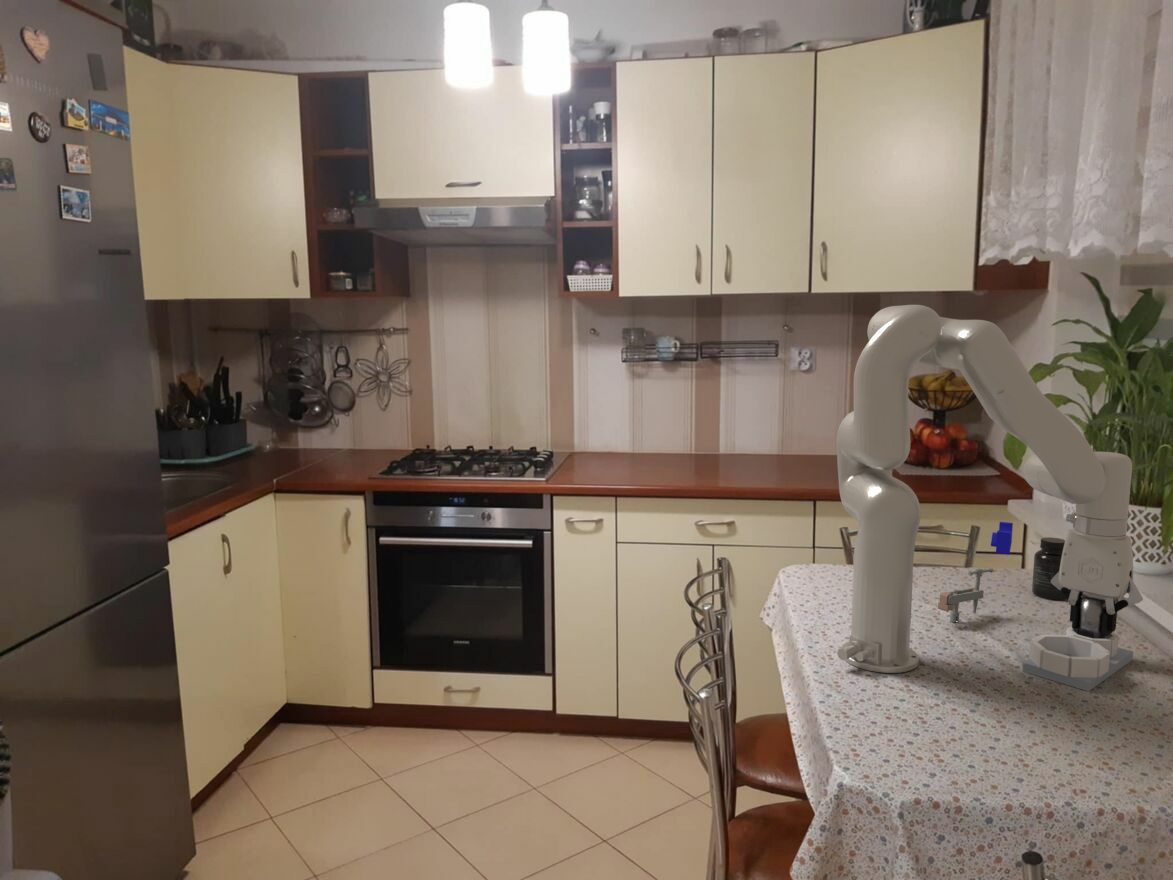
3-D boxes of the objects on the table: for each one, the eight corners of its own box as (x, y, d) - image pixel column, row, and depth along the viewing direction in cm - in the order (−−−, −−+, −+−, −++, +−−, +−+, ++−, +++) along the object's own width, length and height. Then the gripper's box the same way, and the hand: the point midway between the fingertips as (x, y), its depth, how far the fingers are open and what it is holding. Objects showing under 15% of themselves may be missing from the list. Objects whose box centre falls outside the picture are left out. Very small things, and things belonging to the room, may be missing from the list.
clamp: (946, 626, 157) (951, 575, 156) (935, 623, 159) (941, 572, 158) (991, 617, 166) (997, 567, 165) (981, 614, 168) (986, 565, 167)
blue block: (992, 543, 218) (993, 521, 217) (1011, 545, 216) (1012, 522, 215) (989, 554, 208) (990, 531, 207) (1009, 557, 205) (1010, 533, 205)
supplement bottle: (1049, 589, 180) (1053, 534, 179) (1076, 598, 174) (1080, 542, 172) (1024, 592, 178) (1027, 537, 177) (1051, 602, 172) (1055, 545, 170)
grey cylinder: (1099, 648, 140) (1103, 602, 139) (1073, 641, 144) (1077, 597, 142) (1108, 642, 143) (1112, 597, 142) (1082, 636, 146) (1086, 592, 145)
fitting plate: (1090, 692, 130) (1092, 665, 130) (1019, 671, 138) (1021, 645, 138) (1134, 660, 142) (1136, 634, 142) (1067, 642, 151) (1069, 618, 150)
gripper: (1038, 520, 144) (1031, 622, 147) (1149, 539, 132) (1139, 650, 134) (1056, 514, 149) (1049, 612, 152) (1165, 531, 136) (1155, 639, 139)
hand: (1091, 629), depth 143 cm, fingers closed on grey cylinder, 3 cm apart
